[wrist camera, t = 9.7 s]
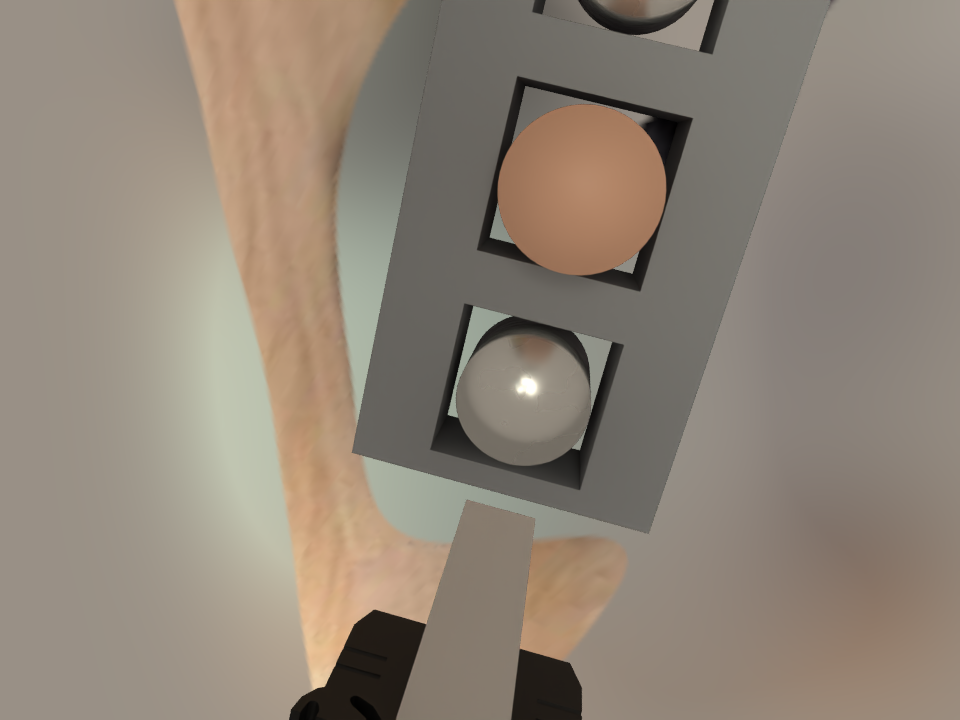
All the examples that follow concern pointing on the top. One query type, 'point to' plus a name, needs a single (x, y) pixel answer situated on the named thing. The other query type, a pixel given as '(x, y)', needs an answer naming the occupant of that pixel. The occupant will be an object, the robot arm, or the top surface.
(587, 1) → the knob
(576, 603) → the top surface
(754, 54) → the knob mount
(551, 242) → the middle knob
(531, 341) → the knob
